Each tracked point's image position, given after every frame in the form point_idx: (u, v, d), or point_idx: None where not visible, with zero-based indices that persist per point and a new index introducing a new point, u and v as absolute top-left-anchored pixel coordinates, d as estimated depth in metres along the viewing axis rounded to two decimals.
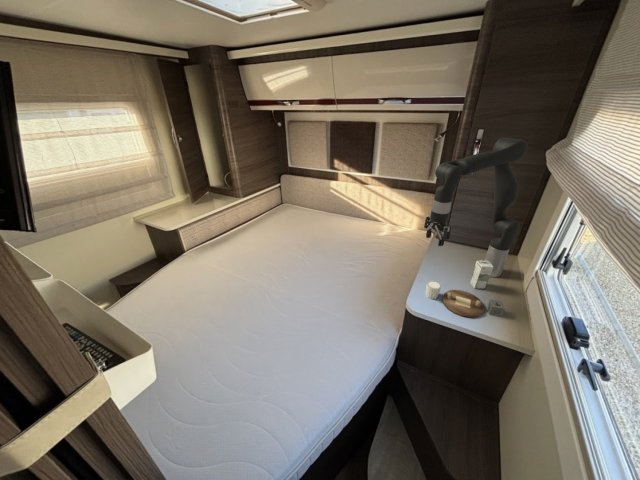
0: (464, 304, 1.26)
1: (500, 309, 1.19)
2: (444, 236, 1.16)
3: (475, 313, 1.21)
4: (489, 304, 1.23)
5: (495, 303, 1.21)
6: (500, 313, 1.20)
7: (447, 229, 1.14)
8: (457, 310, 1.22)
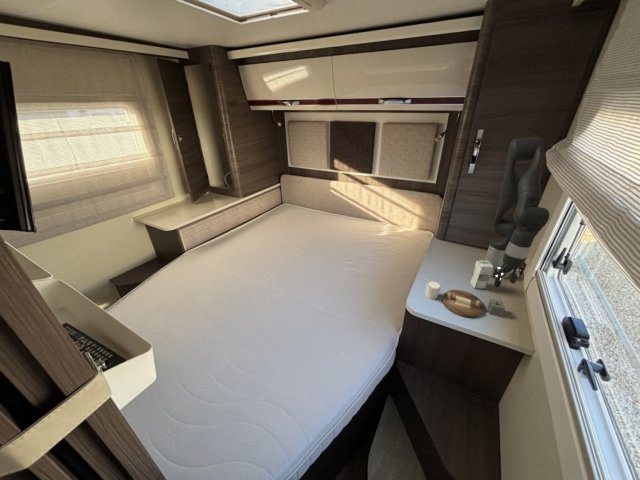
0: (464, 304, 1.26)
1: (500, 309, 1.19)
2: (523, 271, 1.13)
3: (475, 313, 1.21)
4: (489, 304, 1.23)
5: (495, 303, 1.21)
6: (500, 313, 1.20)
7: None
8: (457, 310, 1.22)
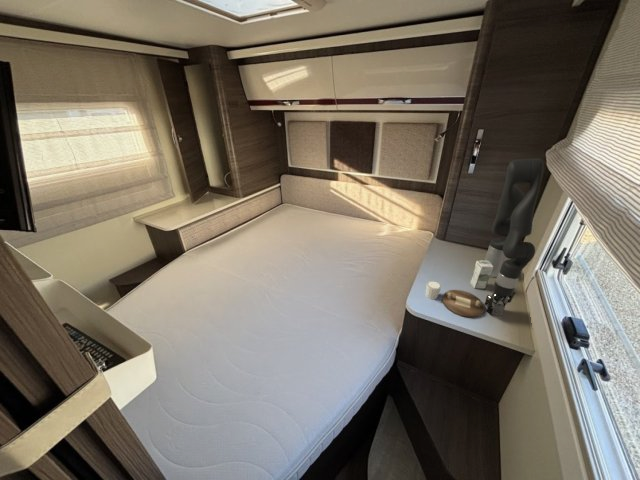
0: (464, 304, 1.26)
1: (500, 308, 1.19)
2: (511, 299, 1.20)
3: (475, 313, 1.21)
4: None
5: None
6: (500, 312, 1.20)
7: None
8: (457, 310, 1.22)
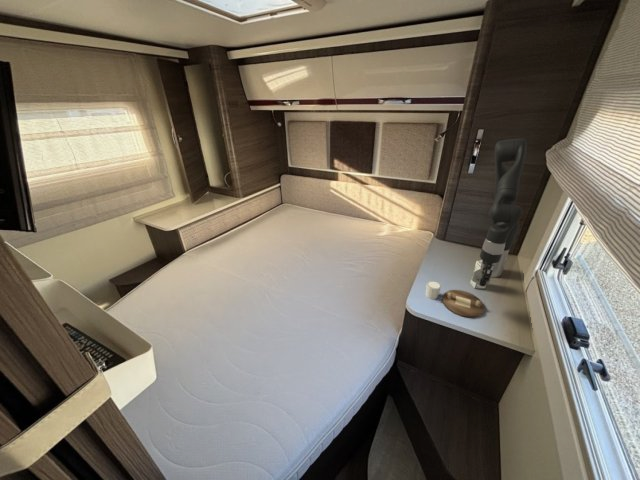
0: (464, 304, 1.26)
1: None
2: None
3: (475, 313, 1.21)
4: (476, 276, 1.18)
5: None
6: (489, 280, 1.17)
7: None
8: (457, 310, 1.22)
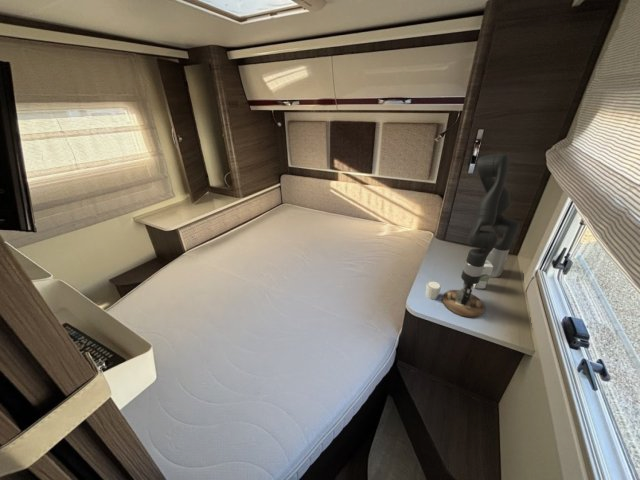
0: None
1: (470, 296, 1.24)
2: None
3: (475, 313, 1.21)
4: (458, 296, 1.26)
5: None
6: (470, 299, 1.26)
7: None
8: (457, 310, 1.22)
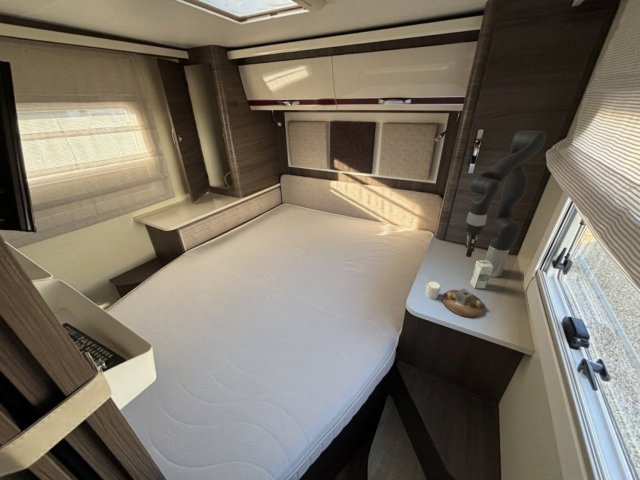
0: None
1: (470, 296, 1.24)
2: None
3: (475, 313, 1.21)
4: (458, 296, 1.26)
5: (463, 293, 1.25)
6: (470, 300, 1.26)
7: None
8: (457, 310, 1.22)
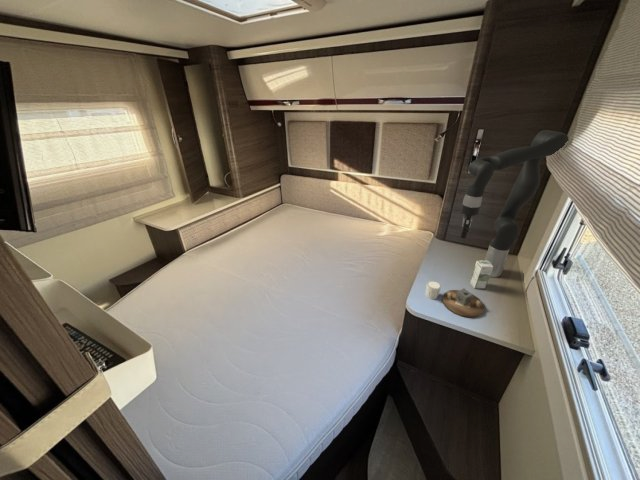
0: None
1: (470, 296, 1.24)
2: None
3: (475, 313, 1.21)
4: (458, 296, 1.26)
5: (463, 293, 1.25)
6: (470, 300, 1.26)
7: None
8: (457, 310, 1.22)
